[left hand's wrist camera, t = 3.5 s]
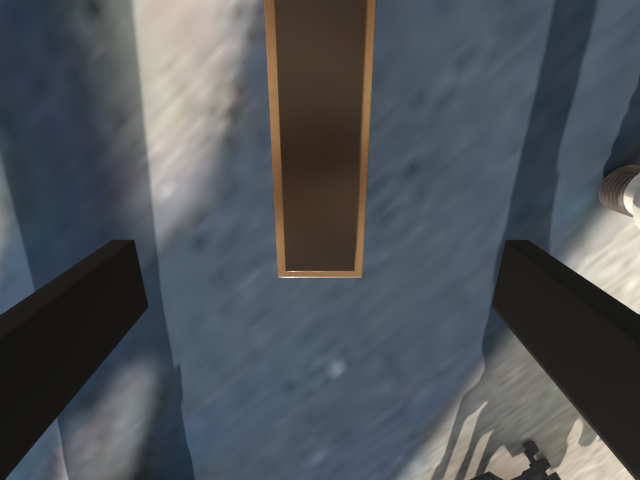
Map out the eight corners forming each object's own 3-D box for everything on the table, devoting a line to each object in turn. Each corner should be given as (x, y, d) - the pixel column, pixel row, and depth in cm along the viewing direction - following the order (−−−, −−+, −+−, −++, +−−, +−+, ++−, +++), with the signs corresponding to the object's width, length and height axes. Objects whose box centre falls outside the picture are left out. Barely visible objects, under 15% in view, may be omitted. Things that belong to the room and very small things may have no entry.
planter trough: (349, 224, 30) (363, 281, 20) (290, 224, 29) (277, 281, 20) (365, -257, 19) (408, -597, 10) (274, -257, 19) (231, -597, 10)
